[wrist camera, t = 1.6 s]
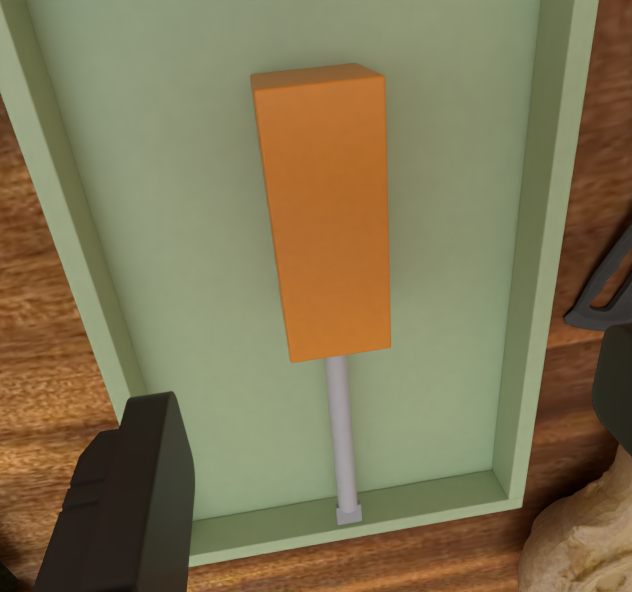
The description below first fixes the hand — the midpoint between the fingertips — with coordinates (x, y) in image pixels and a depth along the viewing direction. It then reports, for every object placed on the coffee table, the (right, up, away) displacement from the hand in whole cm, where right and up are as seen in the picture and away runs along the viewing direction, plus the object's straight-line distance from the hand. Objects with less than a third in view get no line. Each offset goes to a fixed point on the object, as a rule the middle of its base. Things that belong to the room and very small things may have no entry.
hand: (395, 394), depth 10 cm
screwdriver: (-1, +1, +12) cm, 13 cm away
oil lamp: (+14, -10, +21) cm, 27 cm away
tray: (-1, +2, +12) cm, 13 cm away
